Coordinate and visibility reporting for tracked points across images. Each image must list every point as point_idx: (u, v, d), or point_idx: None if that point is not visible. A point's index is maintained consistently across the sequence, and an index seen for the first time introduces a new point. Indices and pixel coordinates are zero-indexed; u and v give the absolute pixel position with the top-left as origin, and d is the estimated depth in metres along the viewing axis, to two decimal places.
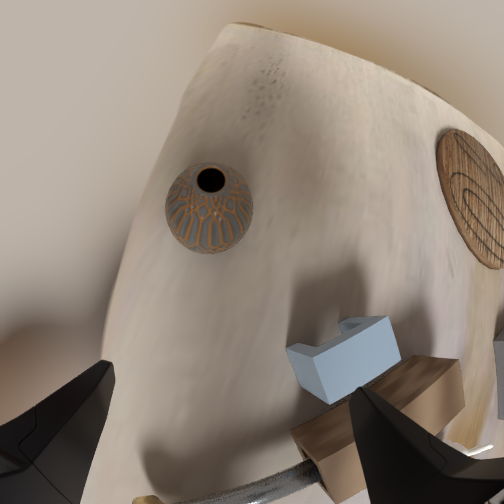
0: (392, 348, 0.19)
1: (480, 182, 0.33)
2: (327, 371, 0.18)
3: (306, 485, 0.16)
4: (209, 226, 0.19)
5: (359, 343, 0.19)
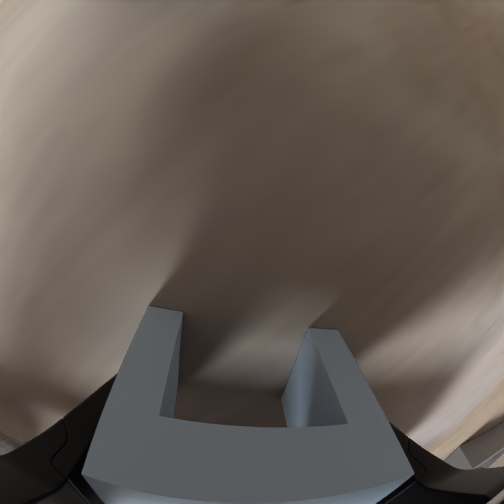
0: None
1: None
2: None
3: None
4: None
5: None
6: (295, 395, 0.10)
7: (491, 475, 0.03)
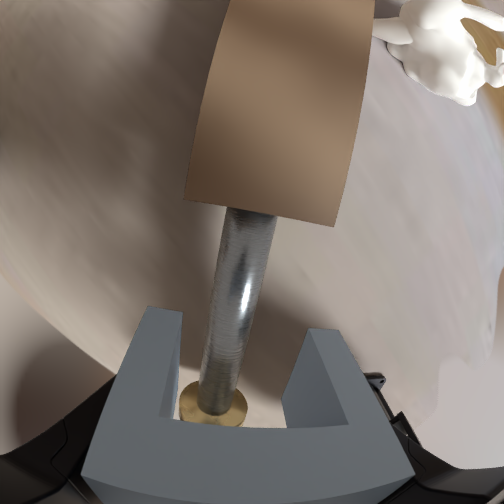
0: None
1: None
2: None
3: (260, 233, 0.13)
4: None
5: None
6: (295, 395, 0.10)
7: (491, 475, 0.03)
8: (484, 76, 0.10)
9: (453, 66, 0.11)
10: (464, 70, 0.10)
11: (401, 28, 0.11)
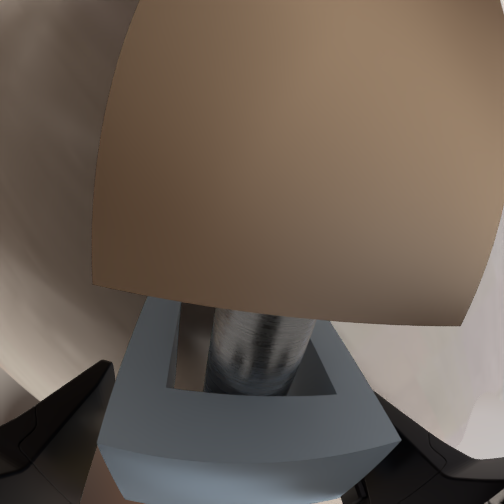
0: (342, 486, 0.06)
1: None
2: (137, 476, 0.04)
3: (297, 325, 0.06)
4: None
5: (274, 475, 0.05)
6: None
7: None
8: None
9: None
10: None
11: None
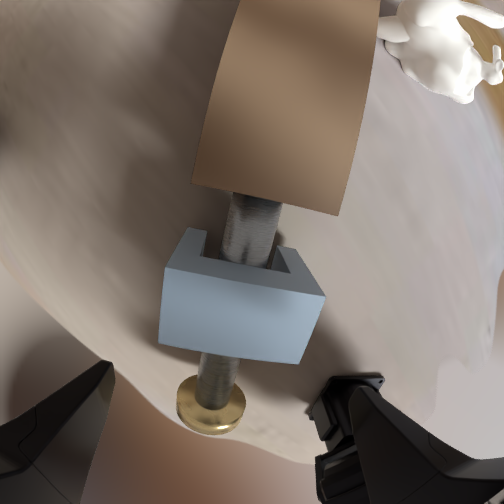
0: (297, 342, 0.13)
1: None
2: (177, 301, 0.12)
3: (265, 222, 0.13)
4: None
5: (250, 300, 0.12)
6: None
7: None
8: (481, 73, 0.10)
9: (450, 64, 0.11)
10: (460, 67, 0.11)
11: (398, 26, 0.11)
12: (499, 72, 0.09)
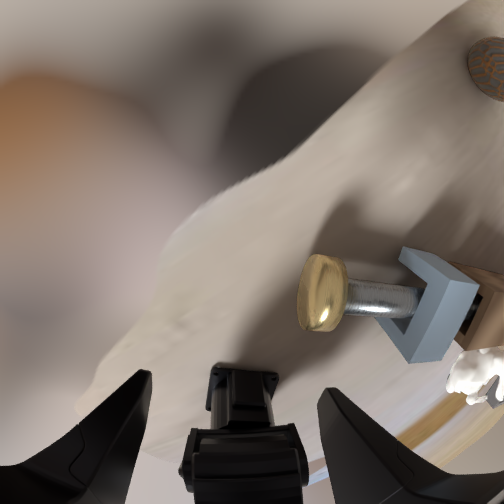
0: (423, 357, 0.17)
1: None
2: (466, 292, 0.15)
3: None
4: None
5: (454, 328, 0.17)
6: None
7: (482, 482, 0.03)
8: (472, 392, 0.24)
9: (476, 376, 0.24)
10: (475, 381, 0.24)
11: None
12: (476, 401, 0.23)
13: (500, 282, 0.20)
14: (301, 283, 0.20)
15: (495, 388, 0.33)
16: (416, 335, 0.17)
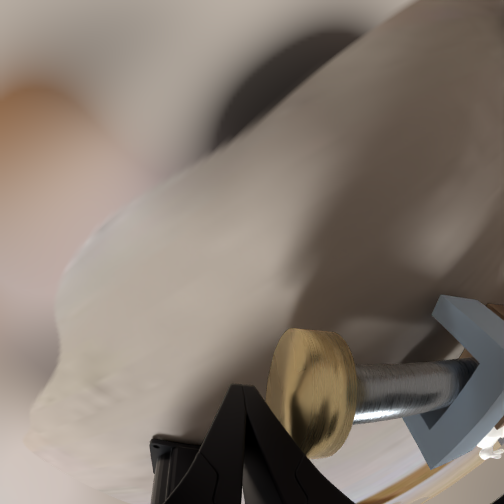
0: (452, 457, 0.08)
1: None
2: None
3: None
4: None
5: (500, 416, 0.08)
6: None
7: None
8: (487, 447, 0.15)
9: (494, 430, 0.15)
10: (492, 436, 0.15)
11: None
12: (490, 456, 0.14)
13: None
14: (274, 367, 0.11)
15: None
16: (449, 436, 0.08)
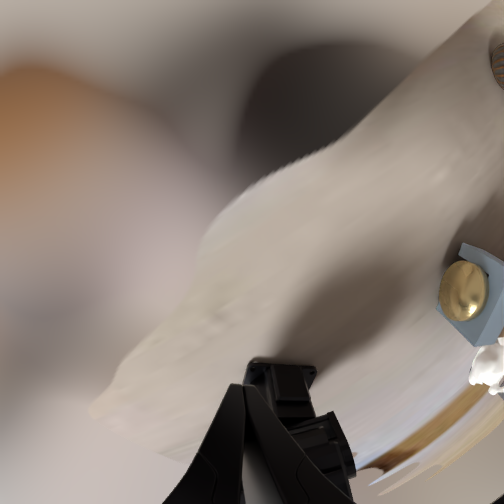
0: (484, 340, 0.16)
1: None
2: None
3: None
4: None
5: None
6: None
7: None
8: (494, 383, 0.23)
9: (496, 367, 0.23)
10: (496, 373, 0.23)
11: None
12: (498, 391, 0.22)
13: None
14: (444, 284, 0.20)
15: None
16: (480, 321, 0.16)
